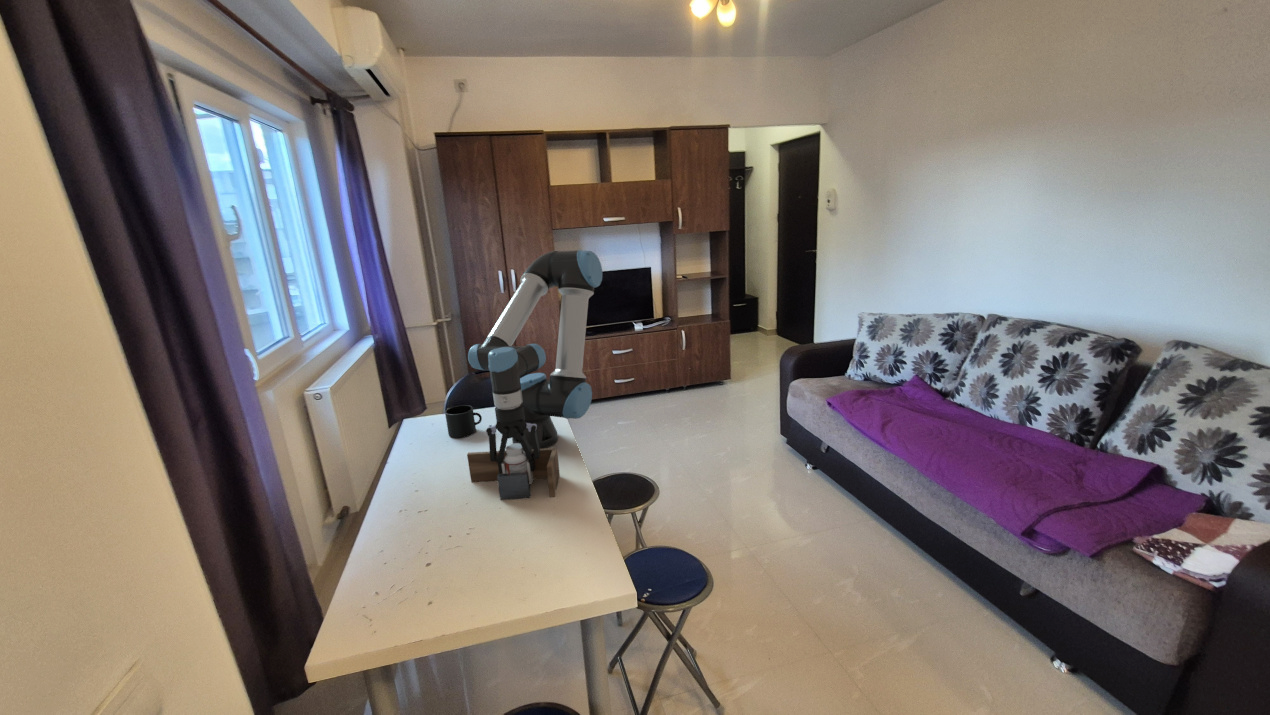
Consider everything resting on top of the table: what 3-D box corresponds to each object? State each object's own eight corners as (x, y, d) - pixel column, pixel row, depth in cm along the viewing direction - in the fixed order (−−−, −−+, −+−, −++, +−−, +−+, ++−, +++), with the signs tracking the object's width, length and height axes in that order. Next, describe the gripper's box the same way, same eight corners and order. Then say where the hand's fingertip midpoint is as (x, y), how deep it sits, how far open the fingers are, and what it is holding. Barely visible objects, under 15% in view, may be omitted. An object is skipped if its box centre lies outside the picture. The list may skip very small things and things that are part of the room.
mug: (483, 434, 185) (480, 410, 182) (448, 440, 182) (444, 416, 179) (483, 425, 193) (479, 402, 191) (449, 430, 190) (445, 407, 188)
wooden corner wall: (472, 480, 152) (468, 452, 150) (560, 475, 152) (557, 447, 150) (460, 501, 141) (455, 471, 139) (554, 496, 141) (551, 466, 139)
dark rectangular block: (501, 496, 143) (498, 473, 141) (530, 495, 142) (527, 472, 141) (500, 499, 141) (497, 476, 139) (529, 498, 141) (526, 475, 139)
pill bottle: (510, 477, 150) (506, 442, 147) (532, 476, 149) (527, 441, 146) (505, 488, 144) (500, 452, 141) (527, 487, 143) (523, 451, 140)
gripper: (469, 412, 137) (481, 490, 143) (542, 408, 136) (550, 486, 143) (477, 402, 144) (488, 477, 150) (546, 398, 144) (554, 473, 150)
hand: (518, 481), depth 146 cm, fingers closed on pill bottle, 6 cm apart
